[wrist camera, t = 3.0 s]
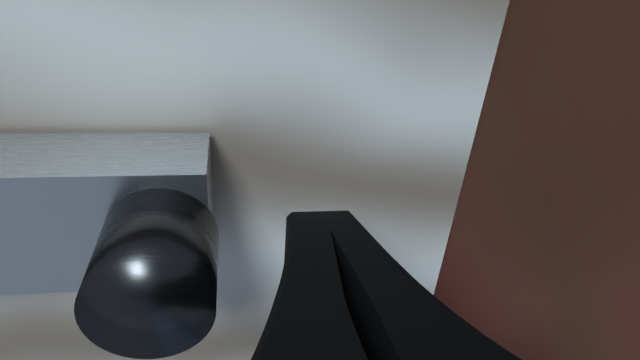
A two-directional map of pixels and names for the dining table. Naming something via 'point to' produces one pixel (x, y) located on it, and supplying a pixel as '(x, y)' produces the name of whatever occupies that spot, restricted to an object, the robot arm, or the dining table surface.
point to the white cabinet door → (259, 127)
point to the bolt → (114, 233)
